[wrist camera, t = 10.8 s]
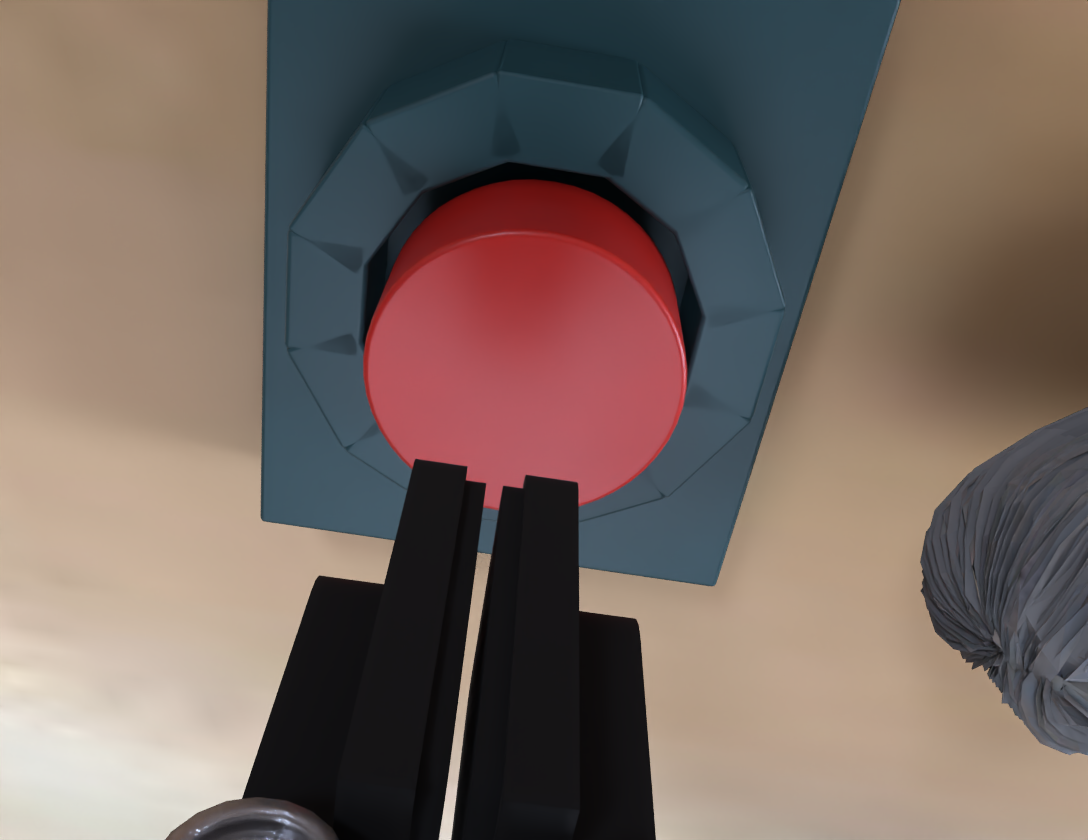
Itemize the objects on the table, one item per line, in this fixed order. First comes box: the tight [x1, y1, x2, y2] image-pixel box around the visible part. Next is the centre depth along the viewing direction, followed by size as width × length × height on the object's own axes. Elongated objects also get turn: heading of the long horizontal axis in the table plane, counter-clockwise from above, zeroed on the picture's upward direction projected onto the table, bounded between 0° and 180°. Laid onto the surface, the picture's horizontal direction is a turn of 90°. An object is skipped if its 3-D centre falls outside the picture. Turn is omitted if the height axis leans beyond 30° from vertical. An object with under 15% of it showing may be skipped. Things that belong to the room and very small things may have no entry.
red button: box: [363, 179, 687, 510], centre depth 15 cm, size 4×4×2 cm
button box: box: [261, 0, 901, 586], centre depth 17 cm, size 12×9×4 cm
